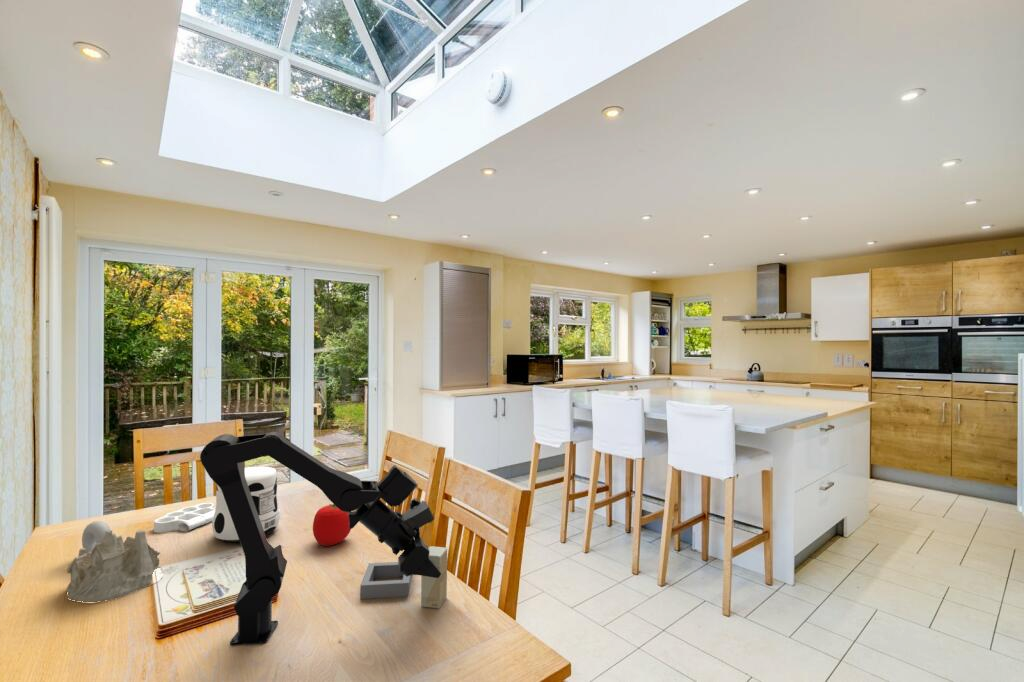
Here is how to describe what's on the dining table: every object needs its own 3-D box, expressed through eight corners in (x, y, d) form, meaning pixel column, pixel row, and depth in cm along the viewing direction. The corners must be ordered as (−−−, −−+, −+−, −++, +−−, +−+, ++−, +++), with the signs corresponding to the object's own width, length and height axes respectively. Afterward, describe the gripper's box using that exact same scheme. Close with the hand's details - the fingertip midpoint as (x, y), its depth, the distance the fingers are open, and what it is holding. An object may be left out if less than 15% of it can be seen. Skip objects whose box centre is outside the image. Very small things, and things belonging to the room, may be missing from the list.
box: (439, 609, 100) (439, 557, 100) (420, 606, 101) (420, 555, 101) (447, 596, 105) (447, 546, 105) (429, 594, 106) (429, 545, 106)
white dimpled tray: (178, 537, 136) (142, 531, 140) (232, 516, 153) (198, 511, 158) (179, 526, 136) (142, 520, 140) (232, 505, 153) (198, 501, 158)
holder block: (408, 596, 105) (408, 582, 105) (360, 598, 104) (360, 585, 104) (412, 573, 115) (412, 561, 115) (368, 575, 114) (368, 563, 114)
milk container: (219, 527, 143) (220, 468, 143) (282, 520, 149) (283, 463, 149) (204, 551, 127) (205, 484, 127) (276, 542, 133) (277, 478, 133)
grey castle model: (171, 578, 112) (167, 515, 112) (80, 614, 98) (75, 542, 98) (145, 565, 120) (141, 506, 120) (58, 596, 107) (54, 530, 107)
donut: (78, 559, 121) (79, 520, 121) (94, 553, 125) (95, 516, 125) (100, 566, 117) (100, 526, 117) (116, 561, 121) (116, 522, 121)
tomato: (303, 548, 129) (303, 508, 129) (327, 533, 139) (327, 496, 139) (337, 552, 127) (337, 512, 127) (358, 536, 137) (359, 499, 137)
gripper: (417, 506, 93) (471, 554, 96) (405, 480, 110) (451, 521, 114) (376, 552, 90) (433, 599, 94) (370, 518, 107) (418, 559, 111)
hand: (435, 566), depth 103 cm, fingers open, 9 cm apart
